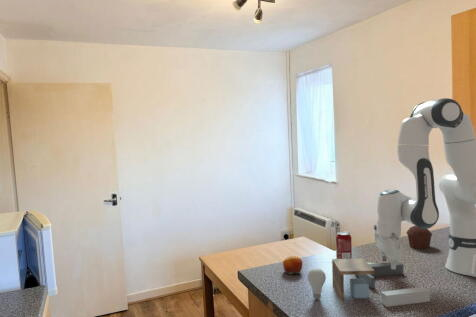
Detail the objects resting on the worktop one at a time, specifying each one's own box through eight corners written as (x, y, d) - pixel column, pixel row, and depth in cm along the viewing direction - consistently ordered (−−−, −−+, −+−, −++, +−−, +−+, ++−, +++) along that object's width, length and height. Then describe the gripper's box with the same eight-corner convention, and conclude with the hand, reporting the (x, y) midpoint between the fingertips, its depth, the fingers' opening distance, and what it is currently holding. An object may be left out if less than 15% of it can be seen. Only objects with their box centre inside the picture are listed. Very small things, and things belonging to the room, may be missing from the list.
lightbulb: (312, 294, 128) (311, 264, 128) (328, 298, 125) (328, 267, 124) (305, 301, 123) (304, 269, 123) (322, 305, 120) (321, 273, 119)
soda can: (352, 261, 159) (352, 235, 159) (336, 261, 161) (336, 234, 160) (350, 256, 166) (350, 231, 165) (335, 256, 167) (335, 230, 167)
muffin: (436, 250, 171) (436, 229, 170) (412, 250, 172) (412, 229, 171) (425, 242, 183) (425, 223, 182) (403, 242, 184) (403, 223, 183)
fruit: (289, 275, 142) (285, 255, 146) (283, 279, 149) (279, 259, 153) (308, 273, 144) (303, 253, 148) (301, 276, 151) (297, 257, 155)
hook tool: (398, 271, 147) (398, 261, 147) (418, 284, 134) (418, 273, 134) (354, 275, 145) (354, 265, 144) (370, 288, 132) (370, 277, 131)
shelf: (363, 285, 134) (363, 258, 134) (374, 299, 123) (374, 270, 122) (332, 285, 135) (332, 259, 134) (341, 300, 123) (340, 271, 122)
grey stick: (423, 298, 123) (423, 286, 123) (429, 302, 120) (429, 290, 120) (381, 303, 120) (381, 291, 120) (386, 307, 117) (386, 295, 117)
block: (364, 291, 129) (364, 278, 129) (368, 298, 124) (368, 284, 124) (350, 292, 129) (350, 278, 129) (354, 298, 124) (354, 284, 124)
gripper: (408, 237, 133) (407, 274, 134) (387, 224, 153) (386, 256, 154) (391, 237, 133) (390, 274, 134) (372, 224, 153) (371, 256, 154)
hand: (388, 264), depth 144 cm, fingers open, 8 cm apart
